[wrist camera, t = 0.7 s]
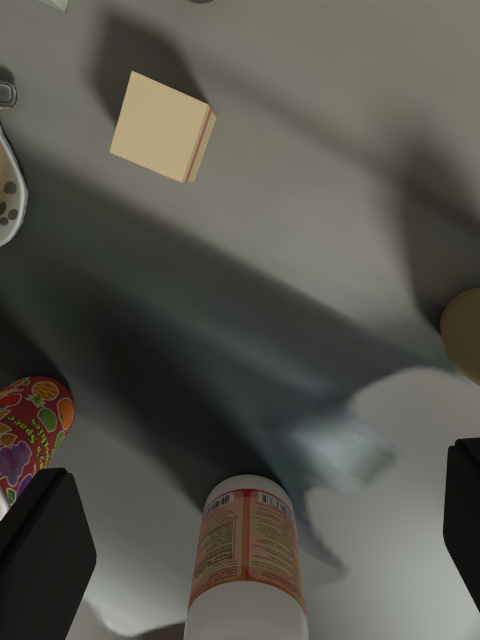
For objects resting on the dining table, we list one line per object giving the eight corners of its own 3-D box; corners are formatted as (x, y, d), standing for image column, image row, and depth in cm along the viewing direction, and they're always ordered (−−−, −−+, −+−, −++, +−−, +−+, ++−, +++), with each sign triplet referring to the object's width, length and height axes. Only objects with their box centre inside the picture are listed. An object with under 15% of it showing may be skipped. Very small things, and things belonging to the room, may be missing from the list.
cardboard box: (154, 90, 31) (131, 70, 25) (216, 117, 31) (208, 104, 26) (134, 156, 32) (109, 152, 27) (194, 182, 33) (181, 182, 27)
